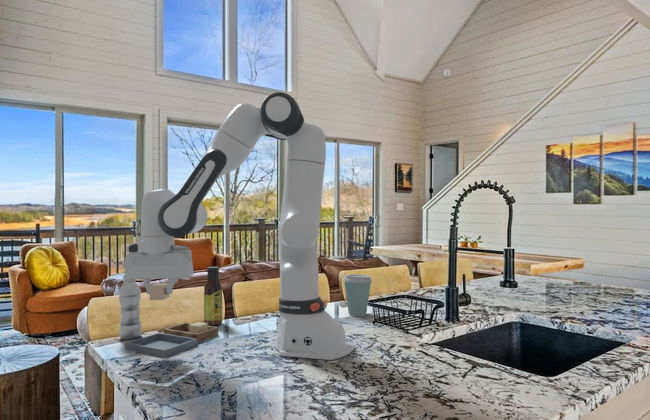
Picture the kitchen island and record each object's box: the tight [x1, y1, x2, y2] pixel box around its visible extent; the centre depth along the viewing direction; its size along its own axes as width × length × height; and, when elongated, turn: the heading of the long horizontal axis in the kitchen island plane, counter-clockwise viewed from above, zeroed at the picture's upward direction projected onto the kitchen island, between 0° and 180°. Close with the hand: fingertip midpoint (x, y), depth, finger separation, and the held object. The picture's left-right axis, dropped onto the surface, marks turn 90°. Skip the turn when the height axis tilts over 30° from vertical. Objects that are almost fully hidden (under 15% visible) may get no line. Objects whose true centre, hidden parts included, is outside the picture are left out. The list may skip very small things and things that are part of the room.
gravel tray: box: [124, 332, 199, 358], centre depth 131 cm, size 16×12×2 cm
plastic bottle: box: [118, 274, 143, 341], centre depth 142 cm, size 6×7×20 cm
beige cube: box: [149, 282, 170, 301], centre depth 132 cm, size 4×4×4 cm
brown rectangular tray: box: [163, 322, 219, 343], centre depth 143 cm, size 14×9×3 cm, turn 61°
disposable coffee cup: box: [343, 273, 372, 317], centre depth 171 cm, size 11×11×15 cm
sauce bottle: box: [203, 266, 223, 327], centre depth 160 cm, size 6×6×20 cm
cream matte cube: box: [189, 321, 209, 334], centre depth 141 cm, size 4×4×4 cm
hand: (159, 293), depth 132 cm, fingers closed on beige cube, 4 cm apart
